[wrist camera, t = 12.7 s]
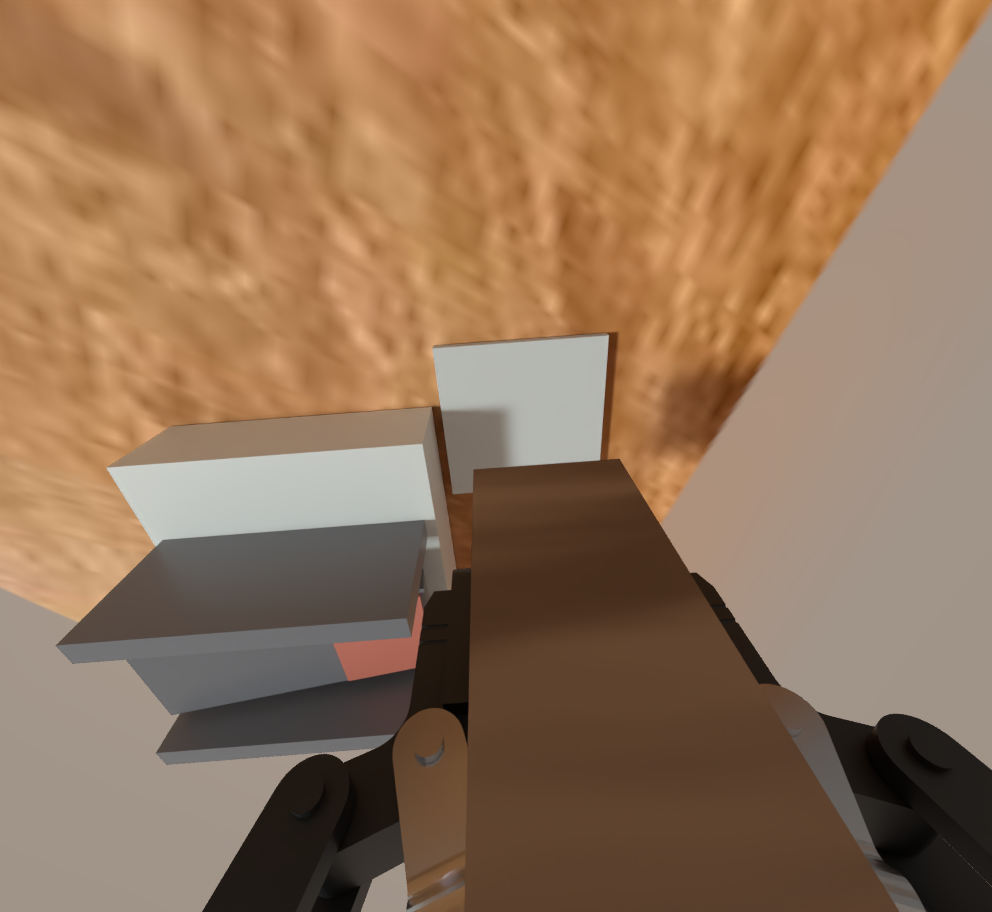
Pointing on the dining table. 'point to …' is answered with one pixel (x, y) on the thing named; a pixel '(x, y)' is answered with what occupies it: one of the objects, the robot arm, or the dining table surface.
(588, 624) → the peg
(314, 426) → the grey slotted holder
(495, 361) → the mat
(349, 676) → the rocker
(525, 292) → the dining table surface
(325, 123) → the dining table surface
